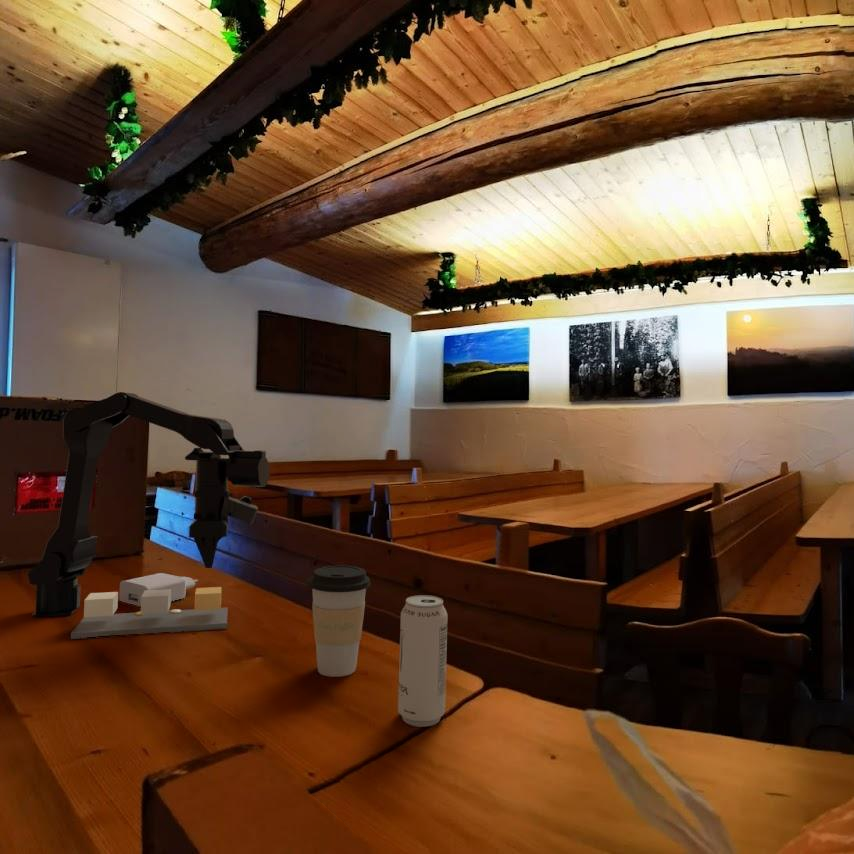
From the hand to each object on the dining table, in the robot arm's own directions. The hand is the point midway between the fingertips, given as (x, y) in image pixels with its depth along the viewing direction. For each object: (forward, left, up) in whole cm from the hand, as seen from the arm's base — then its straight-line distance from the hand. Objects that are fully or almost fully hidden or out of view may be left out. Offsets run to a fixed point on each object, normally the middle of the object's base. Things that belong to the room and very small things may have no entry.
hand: (208, 567), depth 112 cm
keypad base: (-9, 0, -10) cm, 13 cm away
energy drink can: (+28, -46, -10) cm, 55 cm away
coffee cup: (+20, -28, -10) cm, 36 cm away
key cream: (-18, 0, -7) cm, 19 cm away
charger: (-9, +19, -10) cm, 24 cm away
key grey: (-9, 0, -7) cm, 12 cm away
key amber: (0, 0, -7) cm, 7 cm away
